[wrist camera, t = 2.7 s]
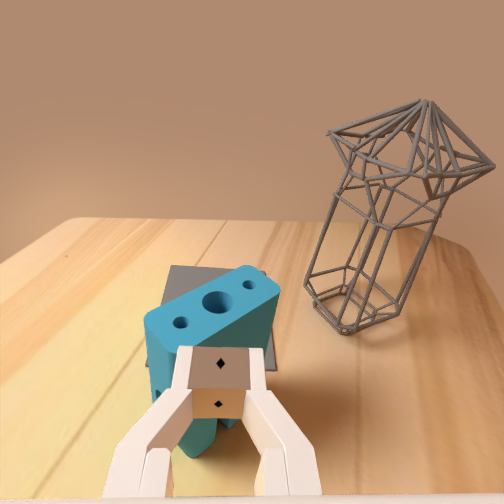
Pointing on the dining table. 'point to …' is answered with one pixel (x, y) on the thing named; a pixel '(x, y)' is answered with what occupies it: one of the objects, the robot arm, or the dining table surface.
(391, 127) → the geometric lantern
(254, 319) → the block
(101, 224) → the dining table surface
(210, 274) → the mat
